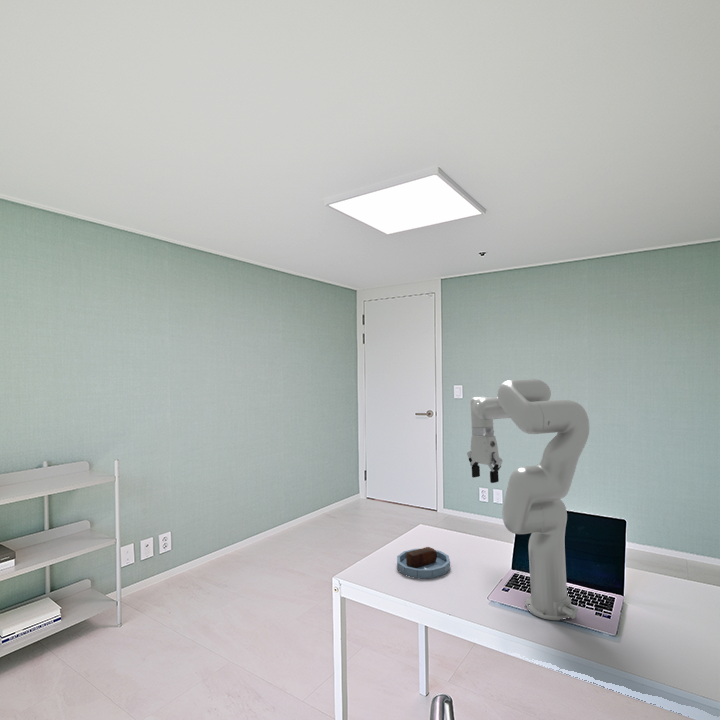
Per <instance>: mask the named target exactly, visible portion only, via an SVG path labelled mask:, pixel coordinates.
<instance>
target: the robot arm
mask: <svg viewBox="0 0 720 720" xmlns="http://www.w3.org/2000/svg"><path fill="white" fill-rule="evenodd" d="M551 392H552V391H551V388H550V386H549V384H547V383H546V382H545V381H543V380H541V379H536V378H526V379H525V378H523V379H510V380H505V381H503V382H502V383H501V384H500V385H499V387H498V389H497V393H496V394H497V396H493V397H492V396H490V397H489V396H473V397H472V398H471V399H470V419H471V439H470V451H468V452H466V455H467V458H468V461H469V463H470V467H471V477H472V479H473V478H478V477H481V471H480V469H481V468H480V465H479V464H481V465H484V466H488V467H489V469H490V471H489V478H490V479H489V481H490V483H491V484H494V483H495V484H497V483H499V480H500V479H499V471H500V469H501V468H502V464H503V459H502V458H501V457H500V456H499V447H498V441H497V437H496V435H495V434H494V433H495V429H494V420H499V419H500V420H501V419H502V420H504V419H505V420H506V419H511V421H512V422H513V423H514V424H515V425H516V426H517V428H518V429H519V430H521V431H522V432H523V433H526V434H528V435H539V434H541V435H542V434H554V433H557V434H555V436H554V437H553V438H552V439H551V440H550V441H549V442H548V443H547V444H546V446H545V448H544V450H543V453H542V457H541V460H540V462H539V463H538V464H536V465H527V466H521V467H518V468H516V469H515V470H514V471H513V472H512V473H511V474H510V476H509V479H508V483H507V487H506V490H505V496H504V501H503V505H502V511H501V513H502V514H501V515H502V522H503V524H504V527H505V528H506V530H507V531H509V533H511V534H514V535H527V534H530V536H529V539H528V560H529V561H528V562H529V563H528V564H529V584H530V596H528V597H527V598H526V599H525V607H526V606H527V608H528V609H529V610H530V611H531V612H530V614H531V615H534V616H536V617H538V618H540V619H543V620H544V619H545V620H548V621H561V620H560V619H563V618H568V617H570V618H571V619H573V620H574V619H576V617H577V614H578V613H579V608H578V607H576V606H575V605H573V604H572V601H571V597H570V596H569V595H568V589H567V588H568V587H567V566H566V548H565V547H566V545H565V536H566V527H567V521H568V513H567V507H566V504H565V503H564V501H563V500H562V499H564V498H566V497H567V495H568V494H569V491H570V489H571V485H572V483H573V479H574V476H575V472H576V469H577V466H578V461H579V458H580V457H581V454H582V452H583V451H584V448H585V446H586V444H587V442H588V438H589V435H590V419H589V416H588V413H587V410H586V409H585V408H584V407H583V405H581V403H579V402H576V401H573V400H568V399H555V400H553V399H552V400H550V399H551V395H552V393H551ZM529 605H530V606H529ZM527 608H526V609H527ZM568 619H569V618H568Z"/></svg>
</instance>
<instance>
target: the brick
mask: <svg viewBox="0 0 720 720" xmlns="http://www.w3.org/2000/svg"><path fill="white" fill-rule="evenodd" d="M417 549H418V550H414V551H410V552H407V553H406V564H407V566H409V567H412V568H418V567H422V566H425V565H428V564H431V563H434V562H436V559H437V552H436V550H437V549H434V548H433V547H431V546H425V547H422V548H417Z"/></svg>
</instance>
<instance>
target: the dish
mask: <svg viewBox="0 0 720 720" xmlns="http://www.w3.org/2000/svg"><path fill="white" fill-rule="evenodd" d="M418 549H419V548H412V549H409V550H405V551H402V552H401V553H400V554H398V555H397V556H396V565H397V566H396V567H397V570H398V572H399V571H400V572H399V573H401V574H402V573H403V574H402V575H404V576H406V575H407V576H406V577H408V576H410V577H409V578H412V577H414V578H413V579H418V578H420V580H422V579H423V580H429V579H431V580H432V579H436V578H440V577H443V576H445V575H447V574H448V573H449V572H450V570H451V569H450V568H451V560H450V556H449V555H448V554H447V553H445V552H443V551H442V550H437V549H435V550H436V552H437V559H436V562H434V563H431V564H428V565H425V566H422V567H418V568H412V567H409V566H407V564H406V553H407V552H410V551H414V550H418Z"/></svg>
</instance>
